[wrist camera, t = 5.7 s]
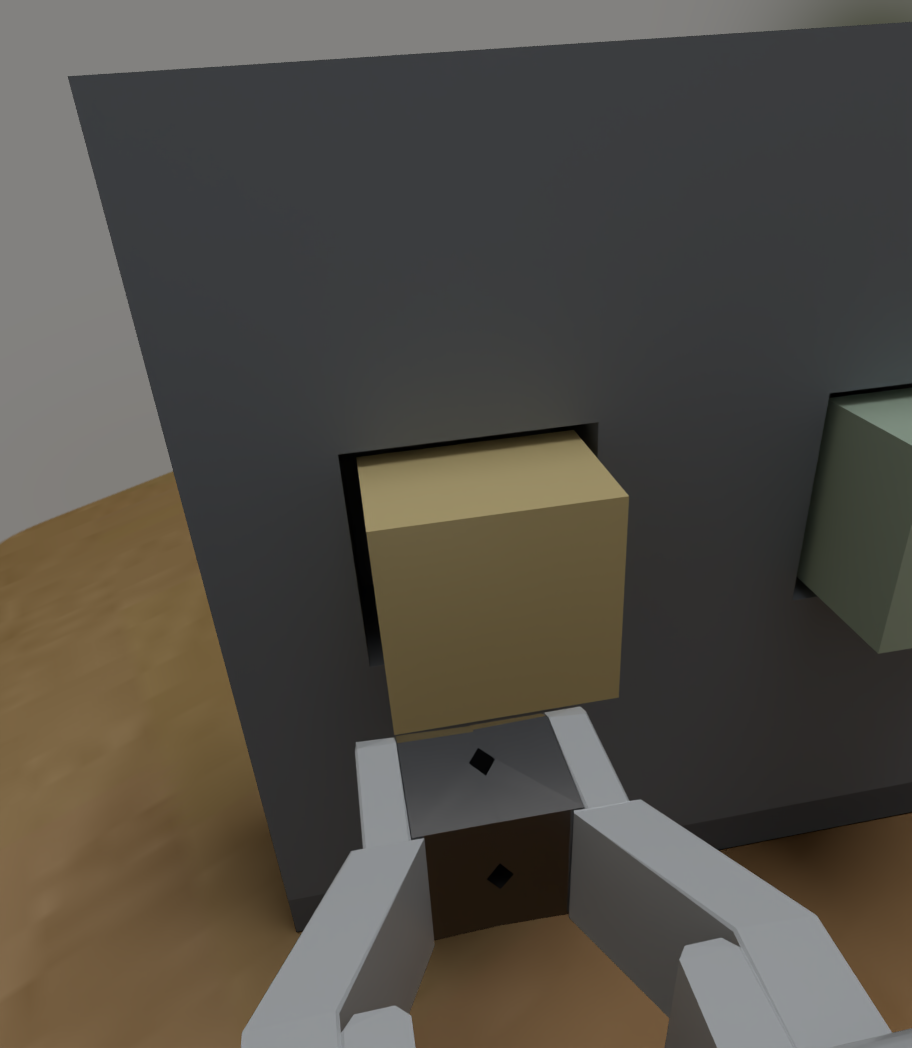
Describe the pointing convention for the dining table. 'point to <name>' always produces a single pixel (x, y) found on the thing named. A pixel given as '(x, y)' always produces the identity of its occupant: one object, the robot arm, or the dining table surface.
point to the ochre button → (495, 577)
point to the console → (531, 377)
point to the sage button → (864, 517)
